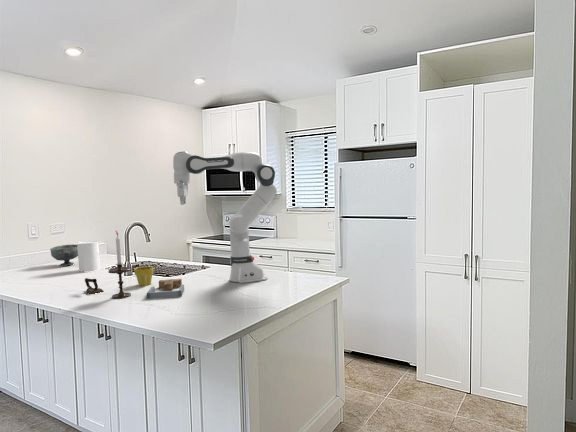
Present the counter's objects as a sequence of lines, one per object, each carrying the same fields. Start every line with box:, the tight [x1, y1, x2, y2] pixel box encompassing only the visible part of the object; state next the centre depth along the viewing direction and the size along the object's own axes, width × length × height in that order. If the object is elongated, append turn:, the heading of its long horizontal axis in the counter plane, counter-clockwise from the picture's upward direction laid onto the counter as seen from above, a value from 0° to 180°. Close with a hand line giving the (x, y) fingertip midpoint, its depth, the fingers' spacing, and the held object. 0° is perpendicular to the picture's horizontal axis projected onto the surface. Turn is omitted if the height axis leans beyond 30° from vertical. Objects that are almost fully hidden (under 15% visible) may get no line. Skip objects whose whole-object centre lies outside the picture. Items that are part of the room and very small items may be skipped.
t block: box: [158, 278, 183, 291], centre depth 228 cm, size 12×12×4 cm
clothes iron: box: [84, 277, 105, 295], centre depth 227 cm, size 7×11×10 cm, turn 55°
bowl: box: [49, 244, 78, 267], centre depth 316 cm, size 20×19×15 cm
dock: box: [146, 284, 185, 300], centre depth 216 cm, size 17×14×3 cm
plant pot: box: [134, 266, 154, 287], centre depth 241 cm, size 10×10×10 cm
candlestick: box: [108, 230, 132, 300], centre depth 214 cm, size 11×11×35 cm
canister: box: [76, 240, 101, 272], centre depth 292 cm, size 14×14×20 cm
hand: (183, 204), depth 237 cm, fingers open, 8 cm apart
